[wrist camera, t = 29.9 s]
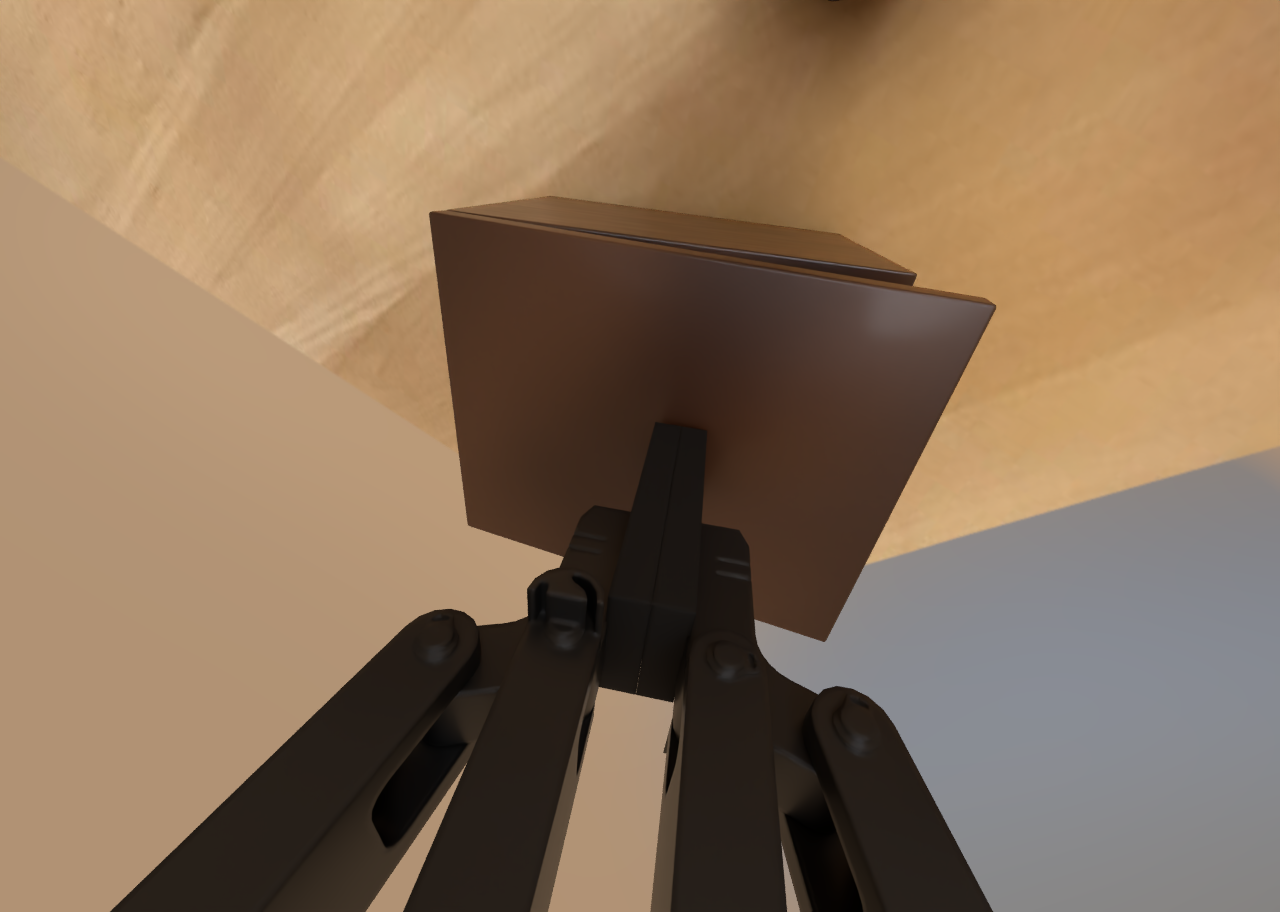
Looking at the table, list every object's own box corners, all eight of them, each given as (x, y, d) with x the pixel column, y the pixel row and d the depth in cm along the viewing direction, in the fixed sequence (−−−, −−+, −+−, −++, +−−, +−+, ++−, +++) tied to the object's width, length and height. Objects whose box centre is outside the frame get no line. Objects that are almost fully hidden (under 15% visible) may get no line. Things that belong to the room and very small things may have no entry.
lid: (987, 297, 10) (999, 305, 10) (825, 625, 17) (825, 643, 16) (446, 209, 14) (427, 211, 13) (478, 514, 20) (467, 526, 19)
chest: (840, 234, 21) (918, 273, 13) (773, 450, 27) (797, 572, 19) (549, 195, 22) (445, 209, 14) (549, 413, 28) (477, 513, 20)
